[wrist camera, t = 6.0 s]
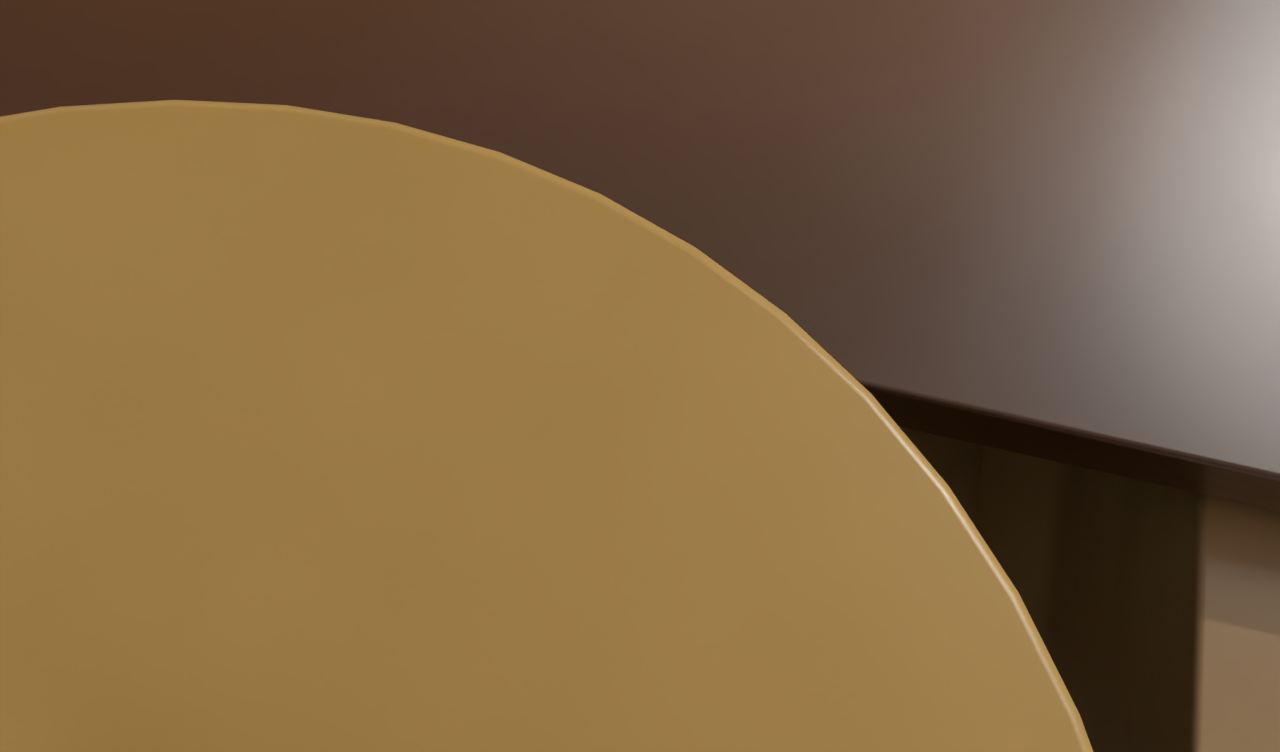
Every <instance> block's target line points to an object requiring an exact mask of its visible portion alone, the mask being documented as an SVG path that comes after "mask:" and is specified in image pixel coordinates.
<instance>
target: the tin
mask: <svg viewBox="0 0 1280 752" xmlns="http://www.w3.org/2000/svg"><path fill="white" fill-rule="evenodd" d="M0 752H1093V749H1092V747H1091V744H1090V741H1089V738H1088V736H1087V733H1086V730H1085V728H1084V725H1083V722H1082V719H1081V717H1080V714H1079V712H1078V710H1077V708H1076V706H1075V704H1074V702H1073V700H1072V698H1071V696H1070V694H1069V692H1068V690H1067V688H1066V686H1065V684H1064V682H1063V680H1062V678H1061V676H1060V674H1059V672H1058V670H1057V668H1056V666H1055V664H1054V662H1053V660H1052V658H1051V656H1050V654H1049V652H1048V650H1047V648H1046V646H1045V644H1044V642H1043V640H1042V638H1041V636H1040V634H1039V632H1038V630H1037V628H1036V626H1035V624H1034V622H1033V620H1032V618H1031V616H1030V614H1029V612H1028V610H1027V608H1026V606H1025V604H1024V602H1023V600H1022V598H1021V596H1020V594H1019V593H1018V591H1017V589H1016V588H1015V586H1014V585H1013V583H1012V582H1011V580H1010V579H1009V577H1008V576H1007V574H1006V573H1005V571H1004V570H1003V568H1002V567H1001V565H1000V564H999V562H998V560H997V559H996V557H995V556H994V554H993V553H992V551H991V550H990V548H989V547H988V545H987V544H986V542H985V541H984V539H983V538H982V536H981V535H980V533H979V531H978V530H977V528H976V527H975V525H974V524H973V522H972V521H971V519H970V518H969V516H968V515H967V513H966V512H965V510H964V509H963V507H962V506H961V504H960V503H959V501H958V499H957V498H956V496H955V495H954V493H953V492H952V490H951V489H950V487H949V486H948V485H947V483H946V482H945V481H944V480H943V479H942V477H941V476H940V475H939V474H938V473H937V472H936V470H935V469H934V468H933V467H932V466H931V464H930V463H929V462H928V461H927V460H926V458H925V457H924V456H923V455H922V454H921V452H920V451H919V450H918V449H917V448H916V446H915V445H914V444H913V443H912V442H911V441H910V439H909V438H908V437H907V436H906V435H905V433H904V432H903V431H902V430H901V429H900V427H899V426H898V425H897V424H896V423H895V421H894V420H893V419H892V418H891V417H890V415H889V414H888V413H887V412H886V411H885V410H884V408H883V407H882V406H881V405H880V404H879V402H878V401H877V400H876V399H875V398H874V396H873V395H872V394H871V393H870V392H869V391H868V390H867V389H866V388H865V387H864V386H863V385H862V384H860V383H859V382H858V381H857V380H856V379H855V378H854V377H853V376H852V375H851V374H850V373H849V372H848V371H847V370H846V369H844V368H843V367H842V366H841V365H840V364H839V363H838V362H837V361H836V360H835V359H834V358H833V357H832V356H831V355H830V354H828V353H827V352H826V351H825V350H824V349H823V348H822V347H821V346H820V345H819V344H818V343H817V342H816V341H815V340H814V339H812V338H811V337H810V336H809V335H808V334H807V333H806V332H805V331H804V330H803V329H802V328H801V327H800V326H799V325H798V324H796V323H795V322H794V321H793V320H792V319H791V318H790V317H789V316H788V315H787V314H786V313H784V312H783V311H782V310H780V309H779V308H778V307H776V306H775V305H773V304H772V303H771V302H769V301H768V300H767V299H765V298H764V297H763V296H761V295H760V294H758V293H757V292H756V291H754V290H753V289H752V288H750V287H749V286H748V285H746V284H745V283H743V282H742V281H741V280H739V279H738V278H737V277H735V276H734V275H733V274H731V273H730V272H728V271H727V270H726V269H724V268H723V267H722V266H720V265H719V264H718V263H716V262H715V261H713V260H712V259H711V258H709V257H708V256H707V255H705V254H704V253H703V252H701V251H700V250H698V249H697V248H696V247H694V246H692V245H690V244H689V243H687V242H685V241H683V240H682V239H680V238H678V237H676V236H674V235H673V234H671V233H669V232H667V231H666V230H664V229H662V228H660V227H658V226H657V225H655V224H653V223H651V222H650V221H648V220H646V219H644V218H642V217H641V216H639V215H637V214H635V213H634V212H632V211H630V210H628V209H626V208H625V207H623V206H621V205H619V204H618V203H616V202H614V201H612V200H610V199H609V198H607V197H605V196H603V195H602V194H600V193H597V192H595V191H592V190H590V189H588V188H585V187H583V186H580V185H578V184H576V183H573V182H571V181H568V180H566V179H563V178H561V177H559V176H556V175H554V174H551V173H549V172H547V171H544V170H542V169H539V168H537V167H535V166H532V165H530V164H527V163H525V162H522V161H520V160H518V159H515V158H513V157H510V156H508V155H506V154H503V153H501V152H498V151H494V150H491V149H487V148H484V147H480V146H476V145H473V144H469V143H466V142H462V141H459V140H455V139H452V138H448V137H445V136H441V135H437V134H434V133H430V132H427V131H423V130H420V129H416V128H413V127H409V126H406V125H402V124H399V123H395V122H389V121H382V120H376V119H370V118H364V117H358V116H351V115H345V114H339V113H333V112H327V111H320V110H314V109H308V108H302V107H296V106H289V105H275V104H254V103H233V102H212V101H191V100H162V101H145V102H129V103H112V104H96V105H79V106H63V107H55V108H49V109H43V110H37V111H31V112H25V113H19V114H13V115H7V116H1V117H0Z"/></svg>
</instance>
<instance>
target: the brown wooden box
mask: <svg viewBox="0 0 1280 752" xmlns="http://www.w3.org/2000/svg"><path fill="white" fill-rule="evenodd" d="M162 100H191V101H212V102H233V103H254V104H275V105H289V106H296V107H302V108H308V109H314V110H320V111H327V112H333V113H339V114H345V115H351V116H358V117H364V118H370V119H376V120H382V121H389V122H395V123H399V124H402V125H406V126H409V127H413V128H416V129H420V130H423V131H427V132H430V133H434V134H437V135H441V136H445V137H448V138H452V139H455V140H459V141H462V142H466V143H469V144H473V145H476V146H480V147H484V148H487V149H491V150H494V151H498V152H501V153H503V154H506V155H508V156H510V157H513V158H515V159H518V160H520V161H522V162H525V163H527V164H530V165H532V166H535V167H537V168H539V169H542V170H544V171H547V172H549V173H551V174H554V175H556V176H559V177H561V178H563V179H566V180H568V181H571V182H573V183H576V184H578V185H580V186H583V187H585V188H588V189H590V190H592V191H595V192H597V193H600V194H602V195H603V196H605V197H607V198H609V199H610V200H612V201H614V202H616V203H618V204H619V205H621V206H623V207H625V208H626V209H628V210H630V211H632V212H634V213H635V214H637V215H639V216H641V217H642V218H644V219H646V220H648V221H650V222H651V223H653V224H655V225H657V226H658V227H660V228H662V229H664V230H666V231H667V232H669V233H671V234H673V235H674V236H676V237H678V238H680V239H682V240H683V241H685V242H687V243H689V244H690V245H692V246H694V247H696V248H697V249H698V250H700V251H701V252H703V253H704V254H705V255H707V256H708V257H709V258H711V259H712V260H713V261H715V262H716V263H718V264H719V265H720V266H722V267H723V268H724V269H726V270H727V271H728V272H730V273H731V274H733V275H734V276H735V277H737V278H738V279H739V280H741V281H742V282H743V283H745V284H746V285H748V286H749V287H750V288H752V289H753V290H754V291H756V292H757V293H758V294H760V295H761V296H763V297H764V298H765V299H767V300H768V301H769V302H771V303H772V304H773V305H775V306H776V307H778V308H779V309H780V310H782V311H783V312H784V313H786V314H787V315H788V316H789V317H790V318H791V319H792V320H793V321H794V322H795V323H796V324H798V325H799V326H800V327H801V328H802V329H803V330H804V331H805V332H806V333H807V334H808V335H809V336H810V337H811V338H812V339H814V340H815V341H816V342H817V343H818V344H819V345H820V346H821V347H822V348H823V349H824V350H825V351H826V352H827V353H828V354H830V355H831V356H832V357H833V358H834V359H835V360H836V361H837V362H838V363H839V364H840V365H841V366H842V367H843V368H844V369H846V370H847V371H848V372H849V373H850V374H851V375H852V376H853V377H854V378H855V379H856V380H857V381H858V382H859V383H860V384H862V385H863V386H864V387H865V388H866V389H867V390H868V391H869V392H870V393H871V394H872V395H873V396H874V398H875V399H876V400H877V401H878V402H879V404H880V405H881V406H882V407H883V408H884V410H885V411H886V412H887V413H888V414H889V415H890V417H891V418H892V419H893V420H894V421H895V423H896V424H897V425H898V426H899V427H904V428H908V429H913V430H917V431H922V432H926V433H931V434H935V435H940V436H944V437H948V438H953V439H957V440H962V441H966V442H971V443H975V444H980V445H984V446H989V447H993V448H998V449H1002V450H1007V451H1011V452H1016V453H1020V454H1025V455H1029V456H1033V457H1038V458H1042V459H1047V460H1051V461H1056V462H1060V463H1065V464H1069V465H1074V466H1078V467H1083V468H1087V469H1092V470H1096V471H1101V472H1105V473H1110V474H1114V475H1118V476H1123V477H1127V478H1132V479H1136V480H1141V481H1145V482H1150V483H1154V484H1159V485H1163V486H1168V487H1172V488H1177V489H1181V490H1186V491H1190V492H1195V493H1199V494H1203V495H1208V496H1212V497H1217V498H1221V499H1226V500H1230V501H1235V502H1239V503H1244V504H1248V505H1253V506H1257V507H1262V508H1266V509H1271V510H1275V511H1279V512H1280V0H0V117H1V116H7V115H13V114H19V113H25V112H31V111H37V110H43V109H49V108H55V107H63V106H79V105H96V104H112V103H129V102H145V101H162Z"/></svg>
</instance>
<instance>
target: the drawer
mask: <svg viewBox="0 0 1280 752" xmlns="http://www.w3.org/2000/svg"><path fill="white" fill-rule="evenodd" d="M900 429H901V430H902V431H903V432H904V433H905V435H906V436H907V437H908V438H909V439H910V441H911V442H912V443H913V444H914V445H915V446H916V448H917V449H918V450H919V451H920V452H921V454H922V455H923V456H924V457H925V458H926V460H927V461H928V462H929V463H930V464H931V466H932V467H933V468H934V469H935V470H936V472H937V473H938V474H939V475H940V476H941V477H942V479H943V480H944V481H945V482H946V483H947V485H948V486H949V487H950V489H951V490H952V492H953V493H954V495H955V496H956V498H957V499H958V501H959V503H960V504H961V506H962V507H963V509H964V510H965V512H966V513H967V515H968V516H969V518H970V519H971V521H972V522H973V524H974V525H975V527H976V528H977V530H978V531H979V533H980V535H981V536H982V538H983V539H984V541H985V542H986V544H987V545H988V547H989V548H990V550H991V551H992V553H993V554H994V556H995V557H996V559H997V560H998V562H999V564H1000V565H1001V567H1002V568H1003V570H1004V571H1005V573H1006V574H1007V576H1008V577H1009V579H1010V580H1011V582H1012V583H1013V585H1014V586H1015V588H1016V589H1017V591H1018V593H1019V594H1020V596H1021V598H1022V600H1023V602H1024V604H1025V606H1026V608H1027V610H1028V612H1029V614H1030V616H1031V618H1032V620H1033V622H1034V624H1035V626H1036V628H1037V630H1038V632H1039V634H1040V636H1041V638H1042V640H1043V642H1044V644H1045V646H1046V648H1047V650H1048V652H1049V654H1050V656H1051V658H1052V660H1053V662H1054V664H1055V666H1056V668H1057V670H1058V672H1059V674H1060V676H1061V678H1062V680H1063V682H1064V684H1065V686H1066V688H1067V690H1068V692H1069V694H1070V696H1071V698H1072V700H1073V702H1074V704H1075V706H1076V708H1077V710H1078V712H1079V714H1080V717H1081V719H1082V722H1083V725H1084V728H1085V730H1086V733H1087V736H1088V738H1089V741H1090V744H1091V747H1092V749H1093V752H1280V512H1279V511H1275V510H1271V509H1266V508H1262V507H1257V506H1253V505H1248V504H1244V503H1239V502H1235V501H1230V500H1226V499H1221V498H1217V497H1212V496H1208V495H1203V494H1199V493H1195V492H1190V491H1186V490H1181V489H1177V488H1172V487H1168V486H1163V485H1159V484H1154V483H1150V482H1145V481H1141V480H1136V479H1132V478H1127V477H1123V476H1118V475H1114V474H1110V473H1105V472H1101V471H1096V470H1092V469H1087V468H1083V467H1078V466H1074V465H1069V464H1065V463H1060V462H1056V461H1051V460H1047V459H1042V458H1038V457H1033V456H1029V455H1025V454H1020V453H1016V452H1011V451H1007V450H1002V449H998V448H993V447H989V446H984V445H980V444H975V443H971V442H966V441H962V440H957V439H953V438H948V437H944V436H940V435H935V434H931V433H926V432H922V431H917V430H913V429H908V428H904V427H900Z"/></svg>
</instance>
